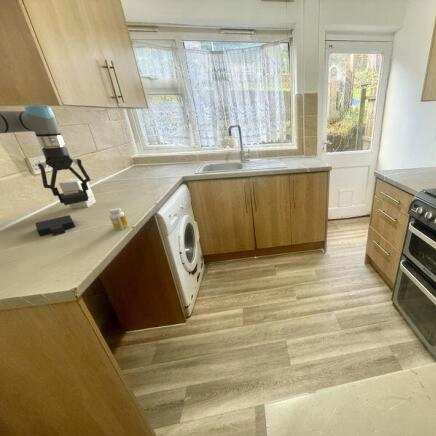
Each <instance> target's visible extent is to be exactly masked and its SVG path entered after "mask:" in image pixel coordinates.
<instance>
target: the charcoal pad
mask: <svg viewBox="0 0 436 436" xmlns="http://www.w3.org/2000/svg"><path fill="white" fill-rule="evenodd" d="M35 228H36V232H37V234H38V236H39V237H44V236H47V235H51V234H52V236H53V237H54V236H58V235H62V234H65V233H66V230H69V229H73V228H76V224H75V222H74V220H73V218H72V217H71V215H70V214H68V215H64V216H59V217H55V218H51V219H47V220H42V221H37V222H35Z"/></svg>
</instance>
